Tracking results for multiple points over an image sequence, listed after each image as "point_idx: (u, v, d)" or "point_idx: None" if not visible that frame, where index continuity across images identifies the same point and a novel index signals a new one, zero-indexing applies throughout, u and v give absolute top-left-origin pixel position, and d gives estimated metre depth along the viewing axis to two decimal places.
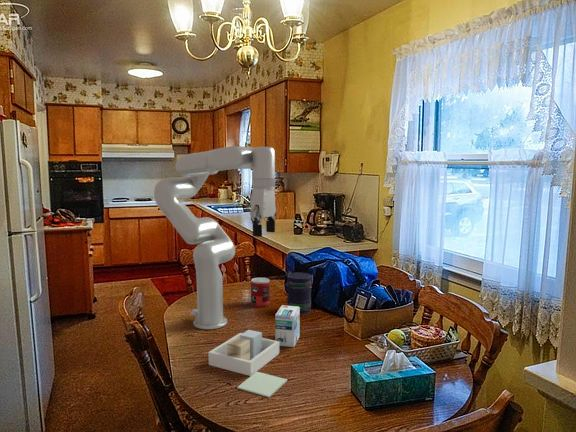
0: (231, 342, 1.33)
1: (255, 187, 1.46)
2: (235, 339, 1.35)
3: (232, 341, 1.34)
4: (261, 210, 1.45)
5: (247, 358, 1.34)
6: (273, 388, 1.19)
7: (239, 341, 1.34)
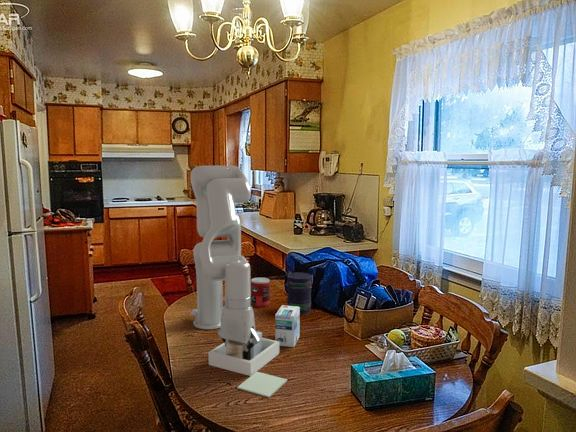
0: (231, 342, 1.33)
1: (245, 308, 1.29)
2: None
3: (232, 341, 1.34)
4: (254, 330, 1.32)
5: None
6: (273, 388, 1.19)
7: None
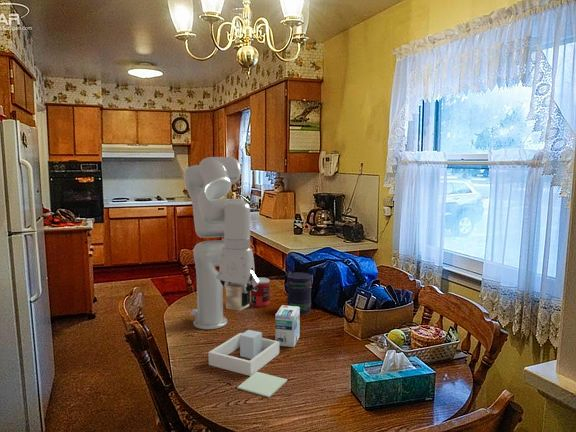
0: (230, 284, 1.31)
1: (244, 249, 1.27)
2: None
3: (231, 284, 1.32)
4: (254, 272, 1.30)
5: None
6: (273, 388, 1.19)
7: (239, 284, 1.32)
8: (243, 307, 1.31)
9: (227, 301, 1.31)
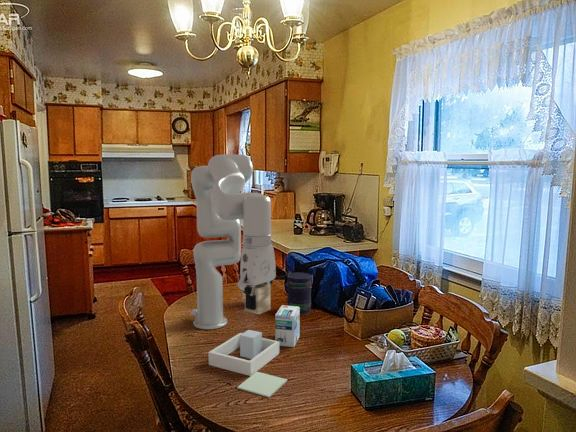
0: (257, 287, 1.19)
1: None
2: (250, 286, 1.20)
3: (255, 287, 1.19)
4: None
5: None
6: (273, 388, 1.19)
7: None
8: None
9: (259, 306, 1.18)
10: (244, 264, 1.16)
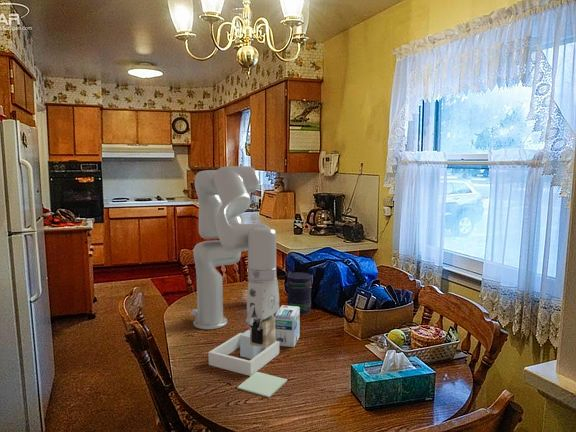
0: (264, 321, 1.17)
1: None
2: None
3: None
4: None
5: None
6: (273, 388, 1.19)
7: None
8: None
9: (267, 339, 1.17)
10: (252, 299, 1.14)
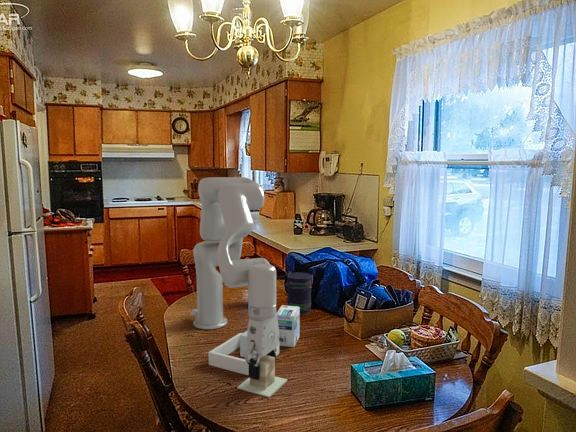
0: (264, 362, 1.19)
1: None
2: None
3: (261, 362, 1.19)
4: None
5: None
6: (273, 388, 1.19)
7: (262, 358, 1.21)
8: None
9: (266, 381, 1.19)
10: (252, 336, 1.16)
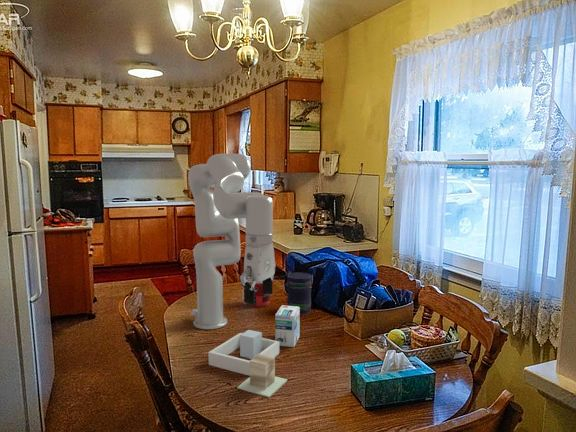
0: (264, 362, 1.19)
1: None
2: (256, 360, 1.20)
3: (261, 362, 1.19)
4: None
5: None
6: (273, 388, 1.19)
7: (262, 358, 1.21)
8: None
9: (266, 381, 1.19)
10: (249, 262, 1.21)
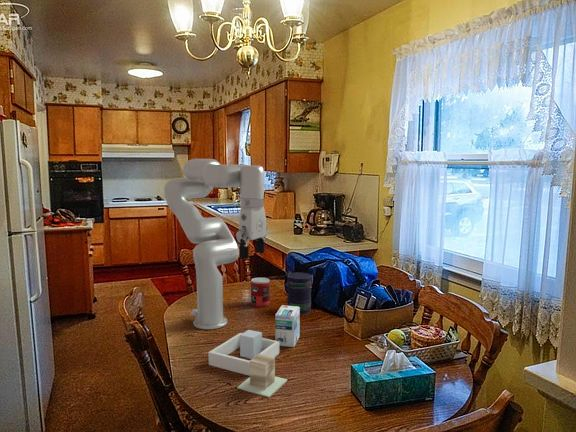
0: (264, 362, 1.19)
1: None
2: (256, 360, 1.20)
3: (261, 362, 1.19)
4: None
5: None
6: (273, 388, 1.19)
7: (262, 358, 1.21)
8: None
9: (266, 381, 1.19)
10: (243, 222, 1.40)
